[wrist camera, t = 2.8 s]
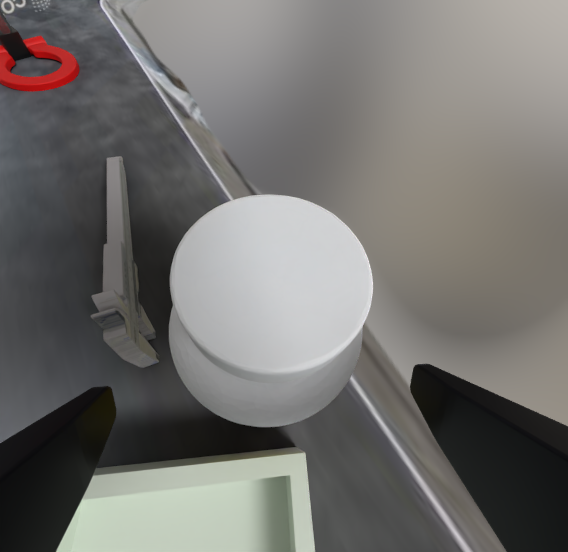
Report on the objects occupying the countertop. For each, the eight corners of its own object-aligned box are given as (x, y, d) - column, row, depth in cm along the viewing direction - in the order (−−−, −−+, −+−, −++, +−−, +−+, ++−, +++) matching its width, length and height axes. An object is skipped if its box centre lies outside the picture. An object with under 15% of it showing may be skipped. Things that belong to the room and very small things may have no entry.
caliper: (163, 364, 17) (119, 337, 11) (146, 370, 17) (92, 346, 11) (123, 160, 25) (87, 89, 20) (111, 162, 25) (71, 90, 20)
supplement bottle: (228, 307, 19) (189, 144, 8) (317, 327, 19) (411, 192, 8) (195, 409, 16) (42, 385, 4) (303, 434, 16) (429, 474, 4)
